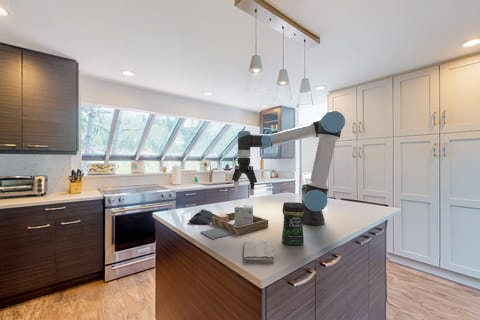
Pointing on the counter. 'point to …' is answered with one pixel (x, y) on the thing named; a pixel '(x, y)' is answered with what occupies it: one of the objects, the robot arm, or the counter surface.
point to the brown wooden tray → (256, 225)
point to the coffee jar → (293, 223)
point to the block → (223, 217)
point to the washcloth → (258, 252)
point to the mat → (216, 233)
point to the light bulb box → (243, 214)
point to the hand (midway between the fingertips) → (243, 193)
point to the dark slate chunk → (202, 217)
